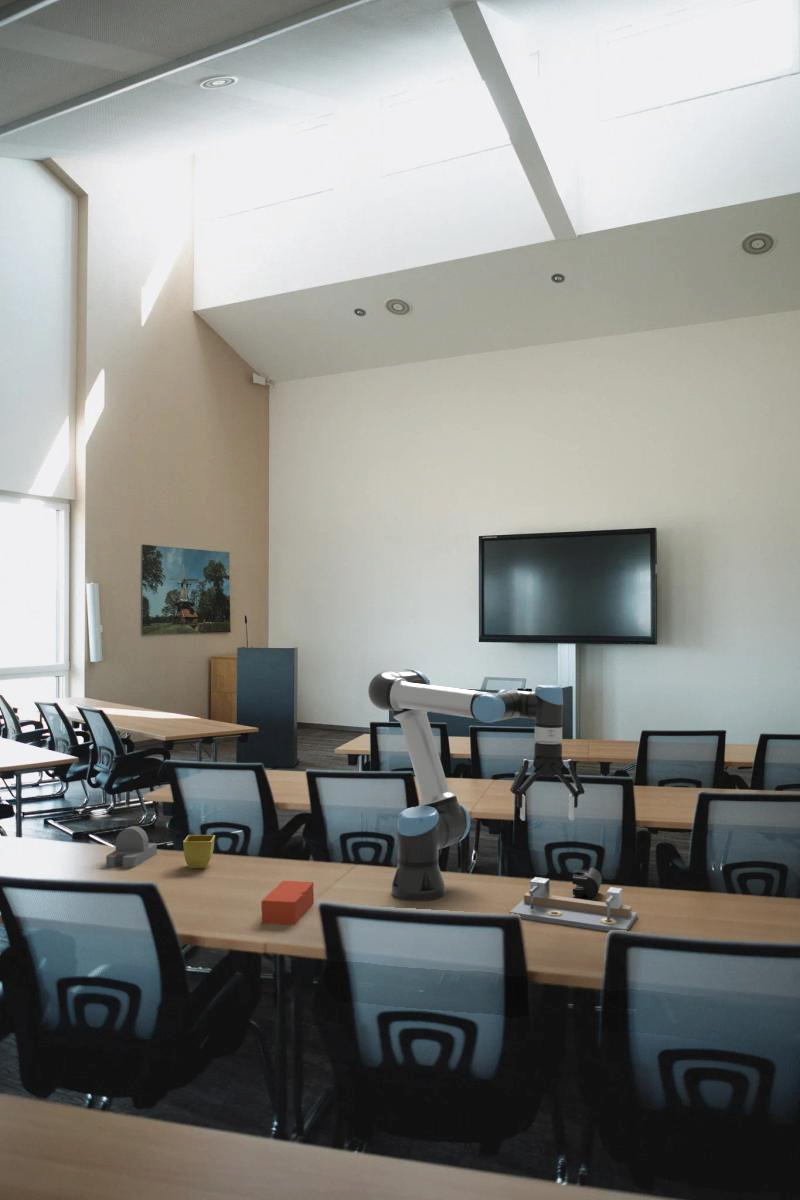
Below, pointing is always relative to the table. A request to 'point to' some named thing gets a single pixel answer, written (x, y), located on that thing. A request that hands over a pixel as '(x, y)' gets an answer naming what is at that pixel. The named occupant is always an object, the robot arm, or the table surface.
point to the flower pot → (198, 850)
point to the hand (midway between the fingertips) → (546, 819)
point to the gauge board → (579, 911)
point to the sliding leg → (539, 888)
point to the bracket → (131, 848)
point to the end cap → (586, 884)
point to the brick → (287, 902)
